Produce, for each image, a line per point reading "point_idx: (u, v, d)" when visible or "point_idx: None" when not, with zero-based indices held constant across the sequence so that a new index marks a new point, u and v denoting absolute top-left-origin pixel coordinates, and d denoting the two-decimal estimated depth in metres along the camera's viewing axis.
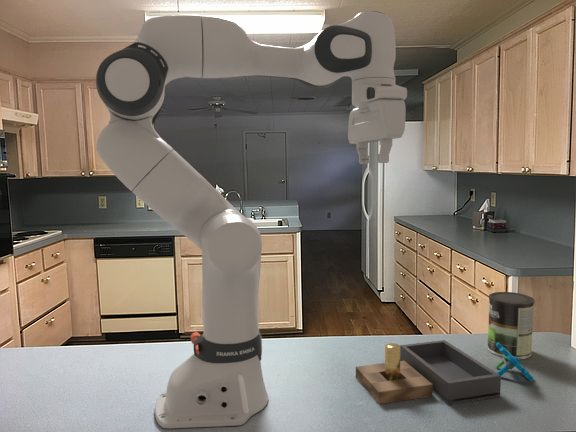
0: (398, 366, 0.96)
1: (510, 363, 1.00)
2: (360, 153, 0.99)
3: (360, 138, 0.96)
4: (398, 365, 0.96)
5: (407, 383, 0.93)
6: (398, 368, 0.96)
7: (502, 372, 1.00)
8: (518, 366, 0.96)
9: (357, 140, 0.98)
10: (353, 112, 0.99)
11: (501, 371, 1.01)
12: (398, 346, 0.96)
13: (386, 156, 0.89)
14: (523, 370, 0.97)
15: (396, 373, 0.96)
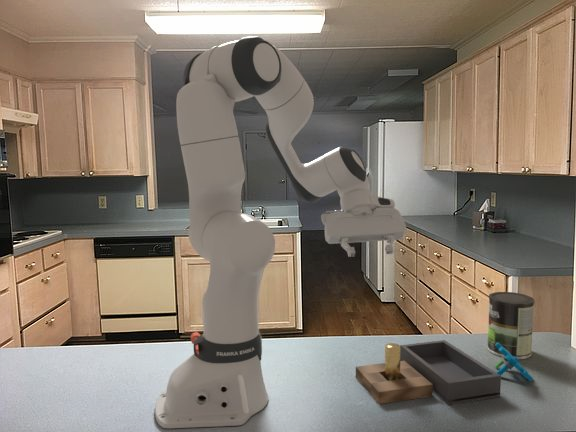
0: (398, 366, 0.96)
1: (509, 363, 1.00)
2: None
3: (357, 232, 1.10)
4: (398, 365, 0.96)
5: (407, 383, 0.93)
6: (398, 368, 0.96)
7: (501, 372, 1.00)
8: (517, 366, 0.96)
9: (350, 233, 1.10)
10: (337, 214, 1.13)
11: (500, 370, 1.01)
12: (398, 346, 0.96)
13: None
14: (522, 370, 0.97)
15: (396, 373, 0.96)
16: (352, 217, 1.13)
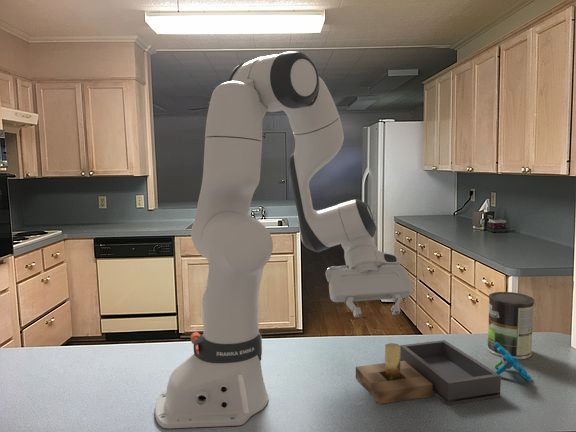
0: (398, 366, 0.96)
1: (508, 363, 1.00)
2: None
3: (363, 291, 1.07)
4: (398, 365, 0.96)
5: (407, 383, 0.93)
6: (398, 368, 0.96)
7: (500, 371, 1.01)
8: (514, 366, 0.96)
9: (356, 293, 1.06)
10: (342, 271, 1.10)
11: (498, 370, 1.01)
12: (398, 346, 0.96)
13: None
14: (520, 370, 0.97)
15: (396, 373, 0.96)
16: (357, 274, 1.10)
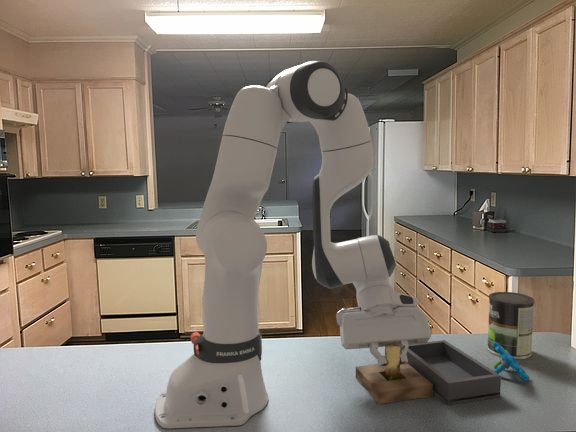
0: (398, 366, 0.96)
1: (506, 362, 1.00)
2: None
3: (378, 338, 0.98)
4: (398, 365, 0.96)
5: (407, 383, 0.93)
6: (398, 368, 0.96)
7: (498, 371, 1.01)
8: (512, 365, 0.96)
9: (370, 340, 0.97)
10: (355, 314, 1.01)
11: (497, 370, 1.01)
12: (398, 346, 0.96)
13: None
14: (518, 370, 0.98)
15: (396, 373, 0.96)
16: (371, 318, 1.01)
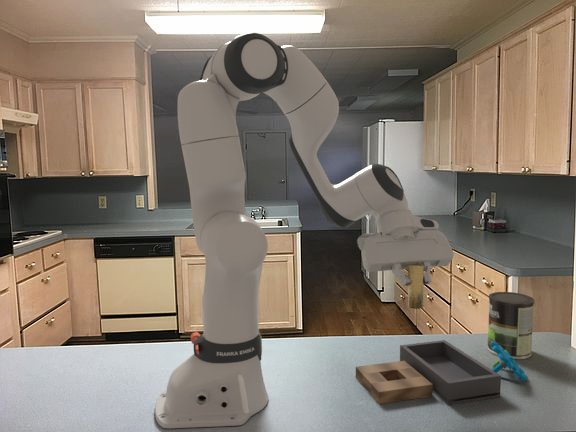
0: (421, 285, 0.95)
1: (504, 362, 1.00)
2: None
3: (400, 258, 0.98)
4: (421, 284, 0.95)
5: (407, 383, 0.93)
6: (421, 287, 0.95)
7: (496, 370, 1.01)
8: (508, 365, 0.96)
9: (393, 260, 0.97)
10: (376, 237, 1.01)
11: (494, 369, 1.01)
12: (421, 265, 0.96)
13: None
14: (515, 369, 0.98)
15: (420, 292, 0.95)
16: (393, 241, 1.00)
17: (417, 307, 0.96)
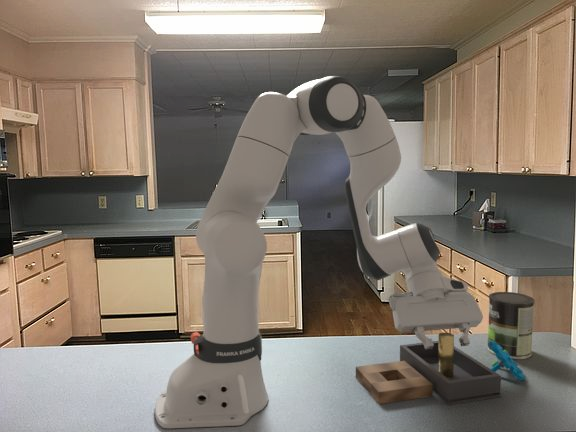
0: (452, 354, 0.99)
1: (502, 361, 1.01)
2: None
3: (432, 321, 1.01)
4: (452, 353, 0.99)
5: (407, 383, 0.93)
6: (452, 356, 0.99)
7: (493, 370, 1.02)
8: (505, 364, 0.97)
9: (425, 323, 1.00)
10: (408, 298, 1.04)
11: (492, 368, 1.02)
12: (451, 335, 0.99)
13: None
14: (512, 369, 0.98)
15: (450, 361, 0.99)
16: (424, 302, 1.04)
17: (447, 376, 0.99)
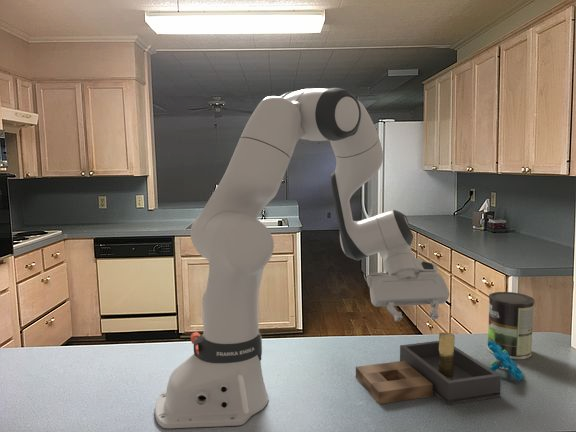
0: (452, 354, 0.99)
1: (500, 361, 1.01)
2: None
3: (403, 296, 1.13)
4: (452, 353, 0.99)
5: (407, 383, 0.93)
6: (452, 356, 0.99)
7: (492, 369, 1.02)
8: (503, 364, 0.97)
9: (397, 298, 1.13)
10: (383, 277, 1.16)
11: (491, 368, 1.02)
12: (452, 335, 0.99)
13: None
14: (511, 369, 0.98)
15: (451, 361, 0.99)
16: (397, 281, 1.16)
17: (447, 376, 0.99)
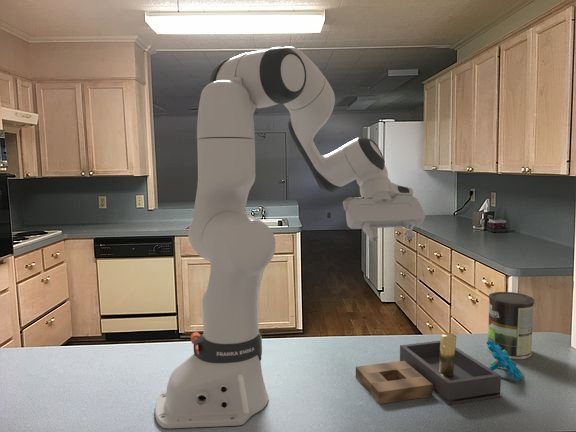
0: (453, 355, 0.98)
1: (499, 361, 1.01)
2: None
3: (379, 217, 1.14)
4: (453, 354, 0.98)
5: (407, 383, 0.93)
6: (453, 357, 0.99)
7: (491, 369, 1.02)
8: (501, 363, 0.97)
9: (372, 219, 1.13)
10: (359, 200, 1.17)
11: (490, 367, 1.02)
12: (454, 335, 0.99)
13: None
14: (509, 368, 0.98)
15: (451, 362, 0.98)
16: (373, 204, 1.17)
17: (447, 376, 0.99)
